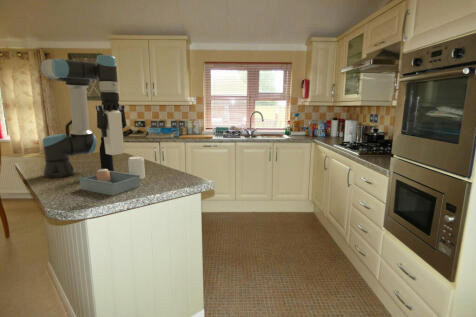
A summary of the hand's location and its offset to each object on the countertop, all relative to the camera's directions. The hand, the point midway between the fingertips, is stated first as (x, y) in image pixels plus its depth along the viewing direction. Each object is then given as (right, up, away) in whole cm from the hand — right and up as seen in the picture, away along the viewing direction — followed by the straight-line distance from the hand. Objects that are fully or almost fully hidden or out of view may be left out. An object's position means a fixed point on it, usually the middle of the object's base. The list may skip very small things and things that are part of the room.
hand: (114, 142), depth 126 cm
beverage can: (+2, -19, +24) cm, 31 cm away
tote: (-5, -22, +7) cm, 23 cm away
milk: (0, -5, +1) cm, 5 cm away
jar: (-10, -21, +10) cm, 25 cm away
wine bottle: (-18, -17, +33) cm, 41 cm away
